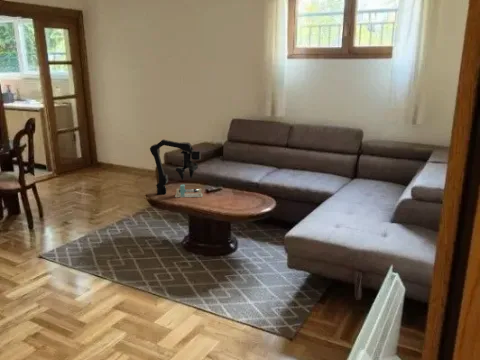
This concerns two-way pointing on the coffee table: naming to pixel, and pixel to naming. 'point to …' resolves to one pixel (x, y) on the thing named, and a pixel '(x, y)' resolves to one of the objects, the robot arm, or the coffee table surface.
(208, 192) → the coffee table surface
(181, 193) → the collar
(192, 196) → the pipe rig
